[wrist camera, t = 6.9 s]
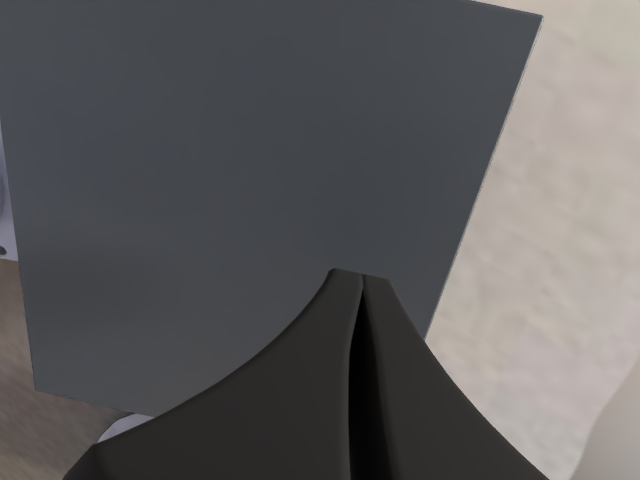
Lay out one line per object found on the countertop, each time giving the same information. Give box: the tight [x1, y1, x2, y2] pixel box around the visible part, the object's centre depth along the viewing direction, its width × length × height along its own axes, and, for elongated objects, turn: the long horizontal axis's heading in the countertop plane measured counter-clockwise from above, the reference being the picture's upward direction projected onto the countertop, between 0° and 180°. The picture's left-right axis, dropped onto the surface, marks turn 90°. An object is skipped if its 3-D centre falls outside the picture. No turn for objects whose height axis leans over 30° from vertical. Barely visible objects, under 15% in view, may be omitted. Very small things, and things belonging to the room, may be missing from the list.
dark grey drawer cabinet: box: [0, 0, 544, 418], centre depth 16 cm, size 14×12×9 cm
